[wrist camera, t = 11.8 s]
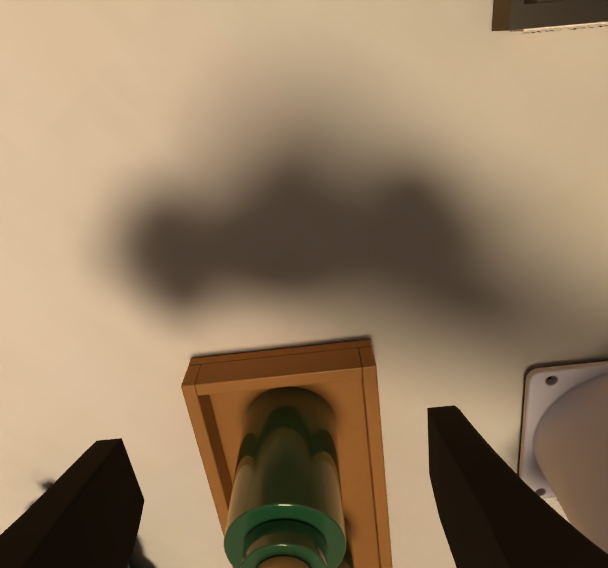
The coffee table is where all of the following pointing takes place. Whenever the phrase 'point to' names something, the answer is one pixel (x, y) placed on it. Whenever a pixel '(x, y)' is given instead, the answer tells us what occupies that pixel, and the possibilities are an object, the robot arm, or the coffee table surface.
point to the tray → (327, 384)
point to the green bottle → (287, 485)
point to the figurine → (547, 14)
